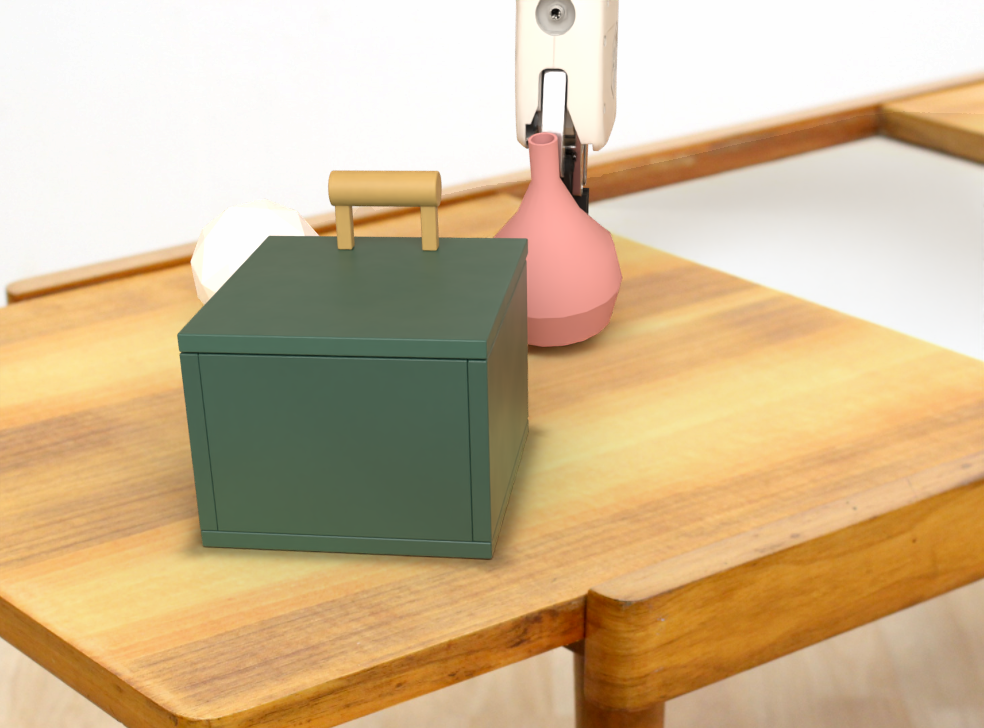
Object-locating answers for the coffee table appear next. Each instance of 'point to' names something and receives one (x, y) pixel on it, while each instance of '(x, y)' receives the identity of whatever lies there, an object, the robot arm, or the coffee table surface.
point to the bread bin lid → (365, 285)
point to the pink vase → (562, 256)
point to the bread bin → (359, 447)
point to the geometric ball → (239, 240)
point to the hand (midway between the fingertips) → (558, 257)
